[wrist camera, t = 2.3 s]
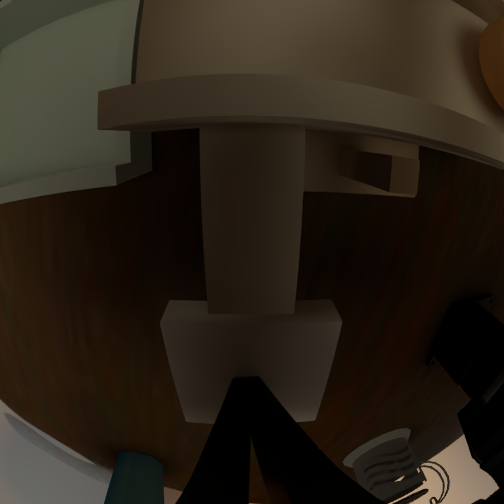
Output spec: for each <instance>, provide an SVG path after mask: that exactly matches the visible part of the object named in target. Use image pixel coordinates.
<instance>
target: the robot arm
mask: <svg viewBox="0 0 504 504" xmlns="http://www.w3.org/2000/svg"><path fill="white" fill-rule="evenodd" d="M493 301H494V296H493V295H491V294H489V295H485V296H481V297H477V298H473V299H469V300H465V301H461V302H456V303H454V304H453V305H452V306H451V307H450V309H449V312H448V314H447V317H446V319H445V322H444V324H443V327H442V329H441V332H440V334H439V336H438V339H437V341H436V343H435V345H434V348H433V350H432V352H431V354H430V356H429V358H428V360H427V362H426V364H427V366H428V367H429V368H430V367H433V366H436V365H439V364H441V365H442V366H443V368H444V369H445V370H446V371H447V373H448V374H449V375H450V377H451V378H452V379H453V380H454V382H455V383H456V384H457V385H460V386H461V387H462V389H463V390H464V391H465V393H466V394H467V395H468V397H469V398H472V397H473V398H472V399H471V400H470V402H469V403H468V404H467V405H466V406H465V407H464V408H463V409H461V410H460V411H459V412H458V413H457V415H458V418H459V421H460V424H461V427H462V429H463V432H464V435H465V438H466V441H467V444H468V447H469V450H470V453H471V456H472V458H473V459H474V460H476V462H477V463H478V464H480V468H481V469H482V470H484V471H485V472H487V473H488V474H489V475H490V476H491V477H492V478H493V479H494V480H495V482H496V483H497V485H498V487H499V489H498V490H497V491H495V492H494V493H493V494H492V495H490V496H489V497H488V498H487V499H486V500H484V499H479V500H477V501H475V502H474V503H472V504H504V324H502V323H501V322H500V321H499V320H498V319H497V318H496V317H495V316H493V315H492V314H491V313H490V312H489V311H490V308H491V306H492V303H493ZM251 438H252V442H253V446H254V450H255V453H256V457H257V460H258V464H259V467H260V471H261V474H262V478H263V481H264V484H265V488H266V491H267V494H268V498H269V501H270V504H387V503H385V502H383V501H382V500H380V499H378V498H377V497H375V496H374V495H373V494H371V493H370V492H368V491H367V490H366V489H364V488H363V487H362V486H360V485H359V484H357V483H356V482H355V481H354V480H352V479H351V478H350V477H348V476H347V475H346V474H345V473H344V472H342V471H341V470H340V469H339V468H338V467H337V466H336V465H335V464H334V463H333V462H332V461H331V460H330V459H329V458H328V457H327V456H326V455H325V454H324V453H323V452H322V451H321V450H320V449H318V446H317V445H316V444H315V443H314V442H313V441H312V440H311V438H310V437H309V436H308V435H307V434H306V433H305V432H304V430H303V429H302V428H301V427H300V426H299V425H298V423H297V422H296V421H295V420H294V419H293V417H292V416H291V415H290V414H289V413H288V411H287V410H286V409H285V408H284V407H283V405H282V404H281V403H280V402H279V400H278V399H277V398H276V397H275V395H274V394H273V393H272V392H271V390H270V389H269V388H268V387H267V385H266V384H265V383H264V382H263V380H262V379H261V378H260V377H259V376H250V377H247V378H245V377H235V378H233V379H232V381H231V383H230V386H229V388H228V391H227V393H226V396H225V398H224V401H223V403H222V406H221V408H220V411H219V413H218V416H217V418H216V420H215V423H214V425H213V428H212V430H211V432H210V435H209V437H208V440H207V442H206V444H205V447H204V449H203V451H202V454H201V456H200V459H199V461H198V463H197V465H196V467H195V470H194V472H193V474H192V476H191V478H190V480H189V482H188V484H187V486H186V488H185V489H184V491H183V493H182V494H181V496H180V498H179V499H178V500H177V502H176V503H175V504H249V479H250V444H251Z"/></svg>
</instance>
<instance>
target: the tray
mask: <svg viewBox="0 0 504 504" xmlns="http://www.w3.org/2000/svg"><path fill="white" fill-rule="evenodd" d="M143 6H144V0H2V1H1V2H0V204H2V203H7V202H11V201H16V200H21V199H26V198H32V197H37V196H43V195H49V194H55V193H61V192H68V191H75V190H82V189H90V188H98V187H106V186H116V185H119V184H121V183H123V182H126V181H128V180H130V179H133V178H135V177H137V176H140V175H142V174H145V173H147V172H150V171H152V142H151V132H135V131H116V130H97V115H98V91H102V90H106V89H110V88H115V87H119V86H124V85H129V84H135V83H136V70H137V56H138V45H139V35H140V27H141V19H142V12H143Z"/></svg>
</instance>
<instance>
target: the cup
mask: <svg viewBox="0 0 504 504" xmlns="http://www.w3.org/2000/svg"><path fill="white" fill-rule="evenodd" d="M104 504H164V487H163V464H162V463H161V462H159V461H158V460H156V459H155V458H153V457H152V456H148V455H144V454H141V453H138V452H134V451H120V452H119V455H118V458H117V461H116V464H115V468H114V471H113V474H112V477H111V481H110V484H109V488H108V491H107V495H106V499H105V502H104Z"/></svg>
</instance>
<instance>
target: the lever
mask: <svg viewBox="0 0 504 504" xmlns="http://www.w3.org/2000/svg"><path fill="white" fill-rule="evenodd" d="M499 17H504V0H144V6H143V12H142V19H141V27H140V35H139V45H138V56H137V70H136V83H135V84H129V85H124V86H119V87H115V88H110V89H106V90H102V91H98V115H97V130H116V131H135V132H156V131H166V130H178V129H192V128H200V180H201V209H202V231H203V248H204V264H205V278H206V291H207V301H186V300H169V303H168V305H167V307H166V310H165V312H164V314H163V317H162V319H161V321H160V326H161V330H162V335H163V339H164V344H165V348H166V352H167V356H168V360H169V364H170V368H171V372H172V376H173V379H174V383H175V386H176V390H177V393H178V397H179V400H180V404H181V407H182V410H183V413H184V416H185V420H186V422H195V423H211V424H214V423H215V420H216V418H217V416H218V413H219V411H220V408H221V406H222V403H223V401H224V398H225V396H226V393H227V391H228V388H229V386H230V383H231V381H232V379H233V378H235V377H245V378H247V377H250V376H259V377H260V378H261V379H262V380H263V382H264V383H265V384H266V385H267V387H268V388H269V389H270V390H271V392H272V393H273V394H274V395H275V397H276V398H277V399H278V400H279V402H280V403H281V404H282V405H283V407H284V408H285V409H286V410H287V411H288V413H289V414H290V415H291V416H292V417H293V419H294V420H295V421H296V422H303V421H312V420H315V419H316V416H317V413H318V410H319V407H320V403H321V400H322V397H323V394H324V390H325V387H326V384H327V380H328V377H329V373H330V369H331V366H332V362H333V358H334V354H335V350H336V346H337V342H338V338H339V334H340V330H341V325H342V320H341V318H340V316H339V314H338V312H337V310H336V308H335V306H334V304H333V302H332V300H331V299H323V300H295V299H296V288H297V277H298V265H299V253H300V239H301V224H302V208H303V188H304V164H305V129H312V130H324V131H334V132H343V133H351V134H358V135H365V136H372V137H378V138H384V139H390V140H395V141H401V142H406V143H411V144H415V145H420V146H424V147H429V148H433V149H437V150H441V151H445V152H449V153H452V154H456V155H459V156H463V157H466V158H470V159H473V160H476V161H479V162H482V163H485V164H488V165H491V166H494V167H497V168H500V169H502V170H504V110H503V109H502V108H501V106H500V105H499V104H498V103H497V101H496V100H495V98H494V97H493V95H492V94H491V92H490V90H489V88H488V86H487V84H486V82H485V80H484V77H483V74H482V71H481V67H480V62H479V42H480V38H481V35H482V33H483V31H484V29H485V28H486V26H487V25H488V24H489V23H490V22H492V21H493V20H495V19H497V18H499Z"/></svg>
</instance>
